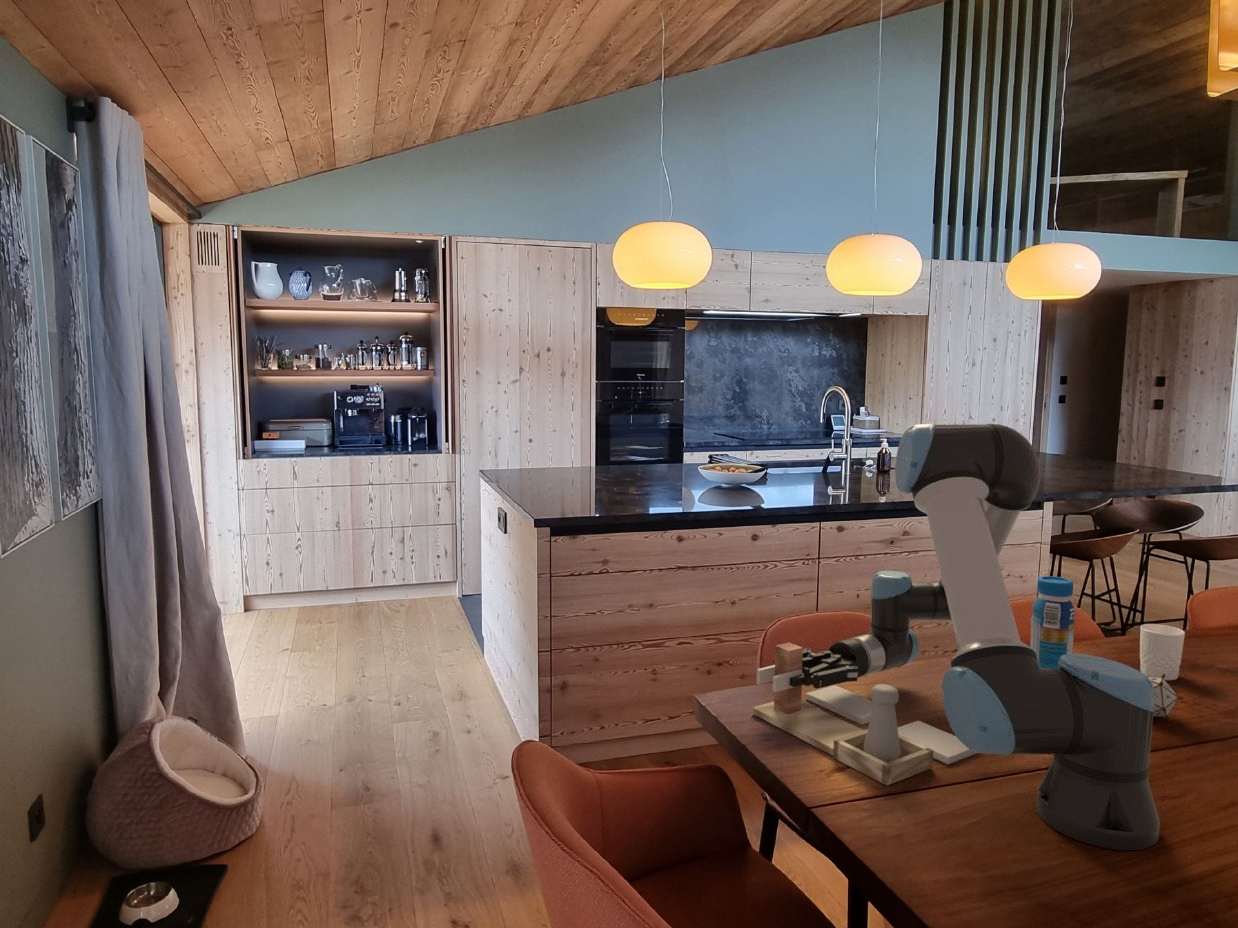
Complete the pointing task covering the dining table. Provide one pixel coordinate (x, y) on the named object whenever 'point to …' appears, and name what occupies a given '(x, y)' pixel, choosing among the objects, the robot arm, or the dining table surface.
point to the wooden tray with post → (835, 729)
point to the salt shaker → (883, 725)
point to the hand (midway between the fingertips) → (766, 680)
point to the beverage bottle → (1052, 620)
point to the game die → (1163, 697)
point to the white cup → (1160, 650)
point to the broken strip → (861, 711)
